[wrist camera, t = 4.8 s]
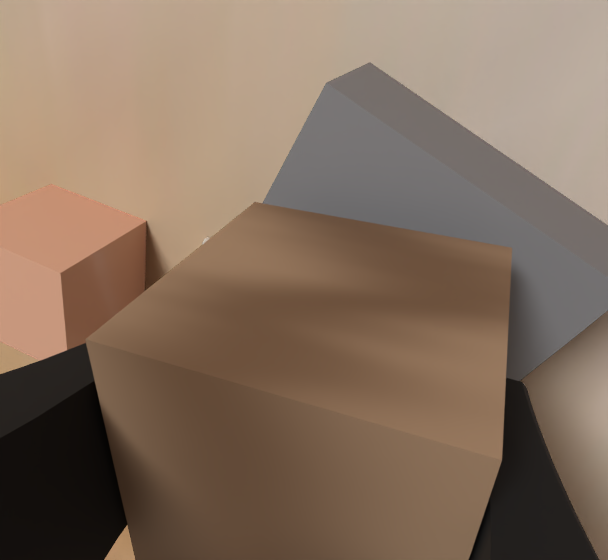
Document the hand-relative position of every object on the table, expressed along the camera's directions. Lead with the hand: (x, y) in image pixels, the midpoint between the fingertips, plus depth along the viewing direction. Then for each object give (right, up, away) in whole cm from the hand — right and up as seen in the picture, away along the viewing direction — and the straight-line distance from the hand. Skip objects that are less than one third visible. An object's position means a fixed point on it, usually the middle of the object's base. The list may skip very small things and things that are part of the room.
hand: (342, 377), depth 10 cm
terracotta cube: (-8, +3, +9) cm, 13 cm away
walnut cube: (+1, +1, +1) cm, 2 cm away
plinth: (+2, +3, +5) cm, 6 cm away
